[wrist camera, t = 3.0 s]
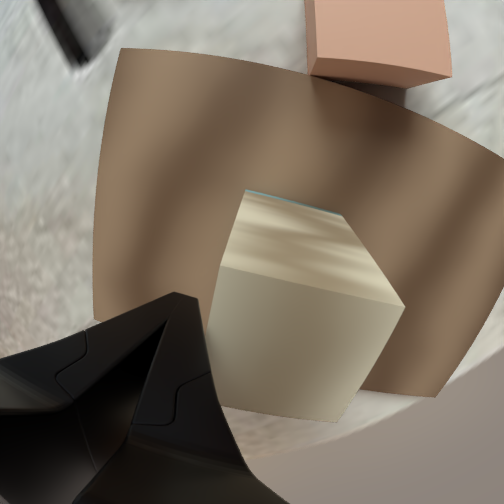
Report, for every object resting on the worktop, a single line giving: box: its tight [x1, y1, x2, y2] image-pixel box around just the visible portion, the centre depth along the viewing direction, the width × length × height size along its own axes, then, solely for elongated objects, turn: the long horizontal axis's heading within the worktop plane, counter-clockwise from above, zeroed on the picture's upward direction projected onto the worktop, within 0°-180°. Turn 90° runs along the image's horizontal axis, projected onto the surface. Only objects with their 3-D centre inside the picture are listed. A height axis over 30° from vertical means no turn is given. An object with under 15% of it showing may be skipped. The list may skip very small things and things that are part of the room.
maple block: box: [205, 189, 405, 422], centre depth 11 cm, size 4×4×8 cm
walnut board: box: [93, 48, 504, 397], centre depth 16 cm, size 24×16×1 cm, turn 77°
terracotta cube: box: [305, 0, 452, 89], centre depth 10 cm, size 5×5×5 cm
